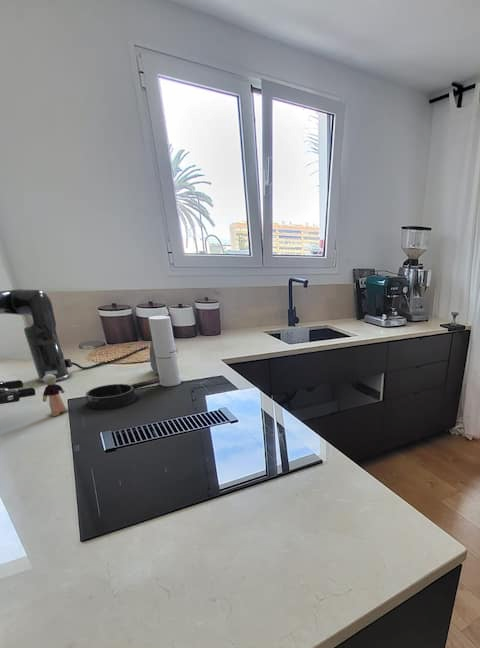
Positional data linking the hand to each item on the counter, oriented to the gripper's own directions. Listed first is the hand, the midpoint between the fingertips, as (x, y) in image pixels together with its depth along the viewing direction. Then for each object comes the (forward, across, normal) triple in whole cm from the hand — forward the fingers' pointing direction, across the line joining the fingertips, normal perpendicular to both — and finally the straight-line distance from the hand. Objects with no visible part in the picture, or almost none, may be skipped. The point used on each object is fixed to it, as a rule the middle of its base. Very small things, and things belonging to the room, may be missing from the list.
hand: (28, 387), depth 115 cm
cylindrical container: (+44, -2, +6) cm, 44 cm away
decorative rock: (+49, +11, +6) cm, 51 cm away
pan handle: (+32, -4, +4) cm, 33 cm away
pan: (+21, -4, +8) cm, 23 cm away
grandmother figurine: (+7, -1, +10) cm, 12 cm away
